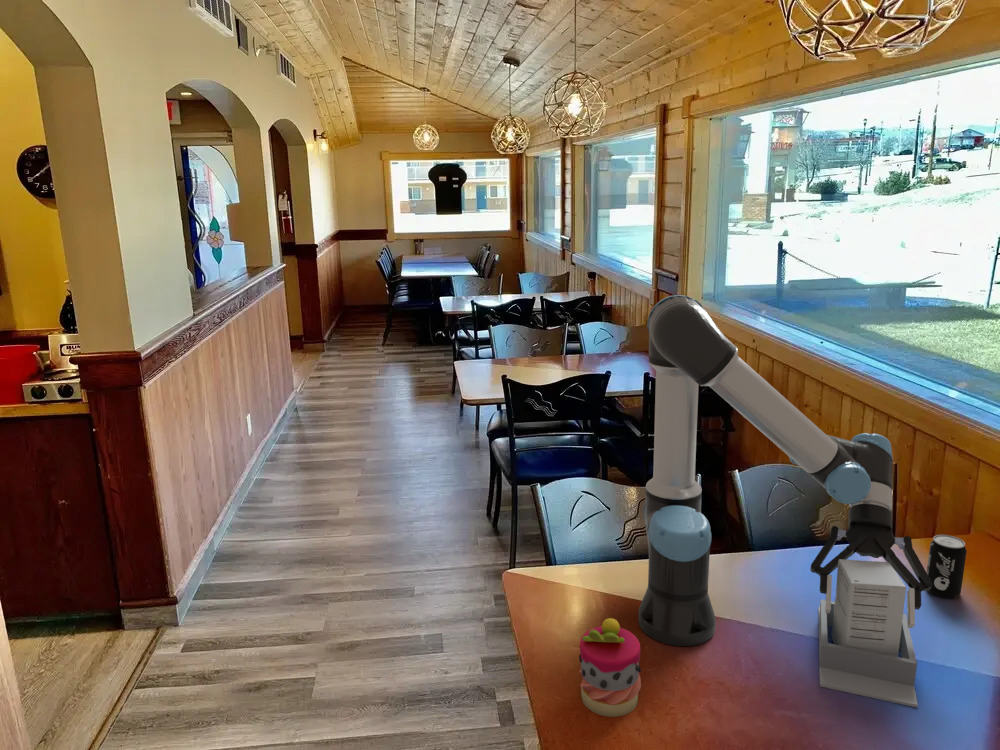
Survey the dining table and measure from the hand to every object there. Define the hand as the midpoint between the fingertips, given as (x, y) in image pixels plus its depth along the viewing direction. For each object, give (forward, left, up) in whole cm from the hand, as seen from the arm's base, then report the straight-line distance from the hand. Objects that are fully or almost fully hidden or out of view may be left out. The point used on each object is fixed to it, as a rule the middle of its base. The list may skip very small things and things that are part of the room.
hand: (868, 618), depth 129 cm
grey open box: (0, +2, -8) cm, 9 cm away
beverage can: (+17, +31, -9) cm, 36 cm away
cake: (-41, -27, -9) cm, 50 cm away
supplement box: (0, +2, -9) cm, 9 cm away
